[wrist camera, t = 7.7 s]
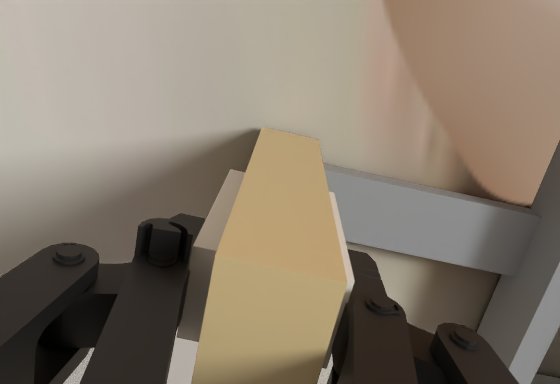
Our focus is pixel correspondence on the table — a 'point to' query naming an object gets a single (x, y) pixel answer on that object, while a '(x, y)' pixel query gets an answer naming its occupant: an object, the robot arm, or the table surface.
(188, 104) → the table surface
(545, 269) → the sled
